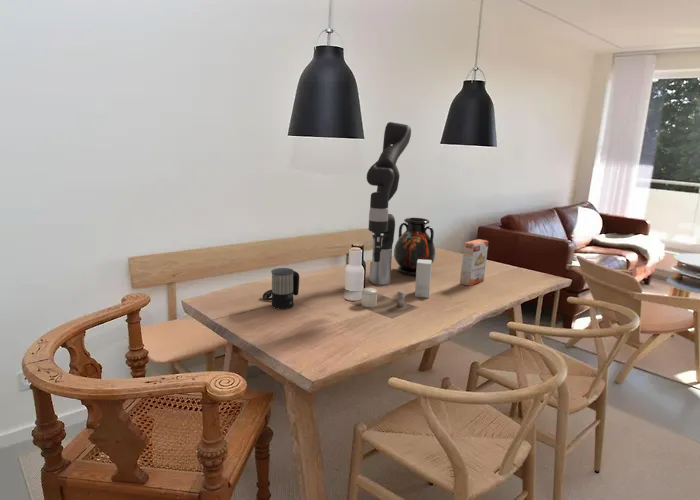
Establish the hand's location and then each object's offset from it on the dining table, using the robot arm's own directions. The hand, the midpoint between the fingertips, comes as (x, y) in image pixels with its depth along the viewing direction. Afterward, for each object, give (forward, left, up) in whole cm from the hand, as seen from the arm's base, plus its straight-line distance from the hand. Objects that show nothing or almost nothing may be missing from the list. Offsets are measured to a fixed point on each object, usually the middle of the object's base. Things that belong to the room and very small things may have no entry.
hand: (376, 259), depth 190 cm
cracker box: (+9, +65, -21) cm, 68 cm away
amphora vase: (-21, +57, -21) cm, 64 cm away
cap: (-2, -1, -19) cm, 19 cm away
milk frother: (-31, -25, -21) cm, 45 cm away
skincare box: (+3, +30, -21) cm, 36 cm away
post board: (+3, +3, -21) cm, 21 cm away
